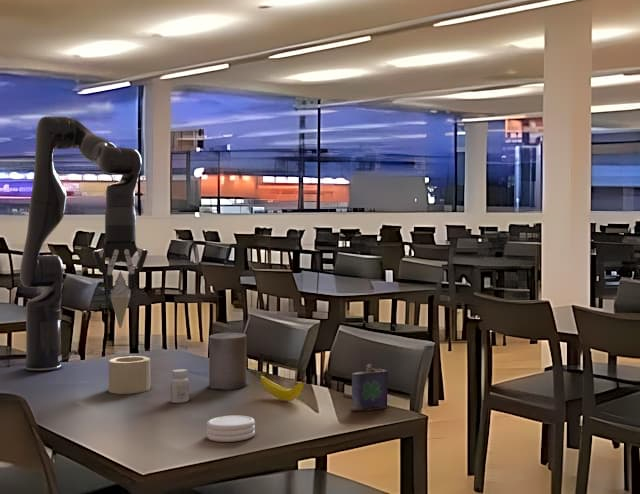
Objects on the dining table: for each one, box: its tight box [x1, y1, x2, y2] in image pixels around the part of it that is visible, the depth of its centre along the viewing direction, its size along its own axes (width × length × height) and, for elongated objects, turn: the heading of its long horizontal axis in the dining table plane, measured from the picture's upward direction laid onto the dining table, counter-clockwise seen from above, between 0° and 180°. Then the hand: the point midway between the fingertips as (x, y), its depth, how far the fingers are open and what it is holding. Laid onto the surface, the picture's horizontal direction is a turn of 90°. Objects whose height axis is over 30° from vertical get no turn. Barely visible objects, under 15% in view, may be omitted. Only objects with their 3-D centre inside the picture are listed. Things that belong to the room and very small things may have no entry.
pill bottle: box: [169, 368, 190, 404], centre depth 237 cm, size 4×4×8 cm
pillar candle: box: [208, 330, 247, 391], centre depth 256 cm, size 10×10×15 cm
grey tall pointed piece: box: [109, 270, 131, 329], centre depth 251 cm, size 5×5×15 cm
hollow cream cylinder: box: [108, 355, 151, 395], centre depth 251 cm, size 10×10×8 cm
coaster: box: [206, 414, 256, 443], centre depth 203 cm, size 10×10×4 cm
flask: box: [351, 363, 389, 412], centre depth 230 cm, size 9×3×11 cm, turn 121°
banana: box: [259, 375, 306, 402], centre depth 239 cm, size 3×19×6 cm, turn 45°
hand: (120, 288), depth 251 cm, fingers closed on grey tall pointed piece, 4 cm apart
